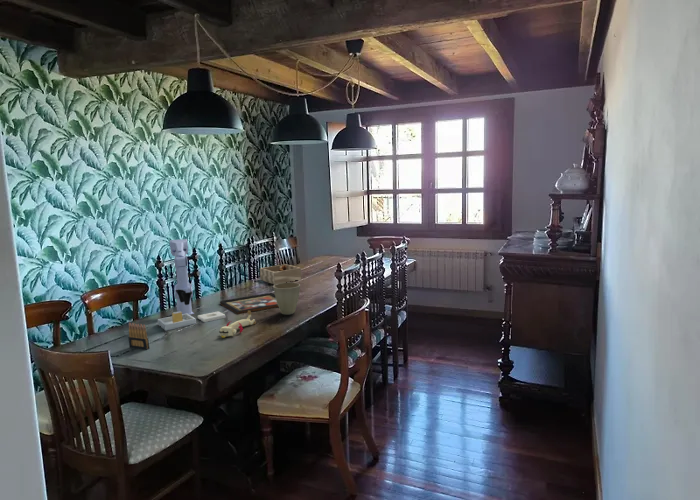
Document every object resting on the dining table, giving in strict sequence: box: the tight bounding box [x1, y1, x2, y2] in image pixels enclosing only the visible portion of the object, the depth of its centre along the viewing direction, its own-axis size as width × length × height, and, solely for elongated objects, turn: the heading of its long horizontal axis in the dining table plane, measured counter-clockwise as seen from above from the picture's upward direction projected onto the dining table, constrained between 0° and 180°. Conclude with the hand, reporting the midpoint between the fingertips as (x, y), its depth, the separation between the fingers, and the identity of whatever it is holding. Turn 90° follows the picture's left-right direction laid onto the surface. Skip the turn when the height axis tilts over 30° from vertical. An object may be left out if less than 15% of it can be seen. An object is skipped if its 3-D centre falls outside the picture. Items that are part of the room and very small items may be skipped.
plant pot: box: [272, 282, 301, 315], centre depth 270 cm, size 15×15×16 cm
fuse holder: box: [197, 310, 226, 323], centre depth 265 cm, size 10×12×2 cm
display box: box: [259, 263, 302, 286], centre depth 359 cm, size 23×22×9 cm
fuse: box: [171, 311, 183, 323], centre depth 257 cm, size 3×4×6 cm, turn 126°
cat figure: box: [218, 311, 257, 339], centre depth 241 cm, size 10×9×25 cm
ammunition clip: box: [128, 321, 150, 351], centre depth 221 cm, size 11×2×12 cm, turn 67°
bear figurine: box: [279, 264, 287, 271], centre depth 355 cm, size 14×15×12 cm
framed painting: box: [219, 292, 279, 315], centre depth 292 cm, size 38×35×3 cm
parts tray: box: [157, 313, 197, 332], centre depth 257 cm, size 14×16×3 cm
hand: (184, 303), depth 261 cm, fingers open, 7 cm apart
